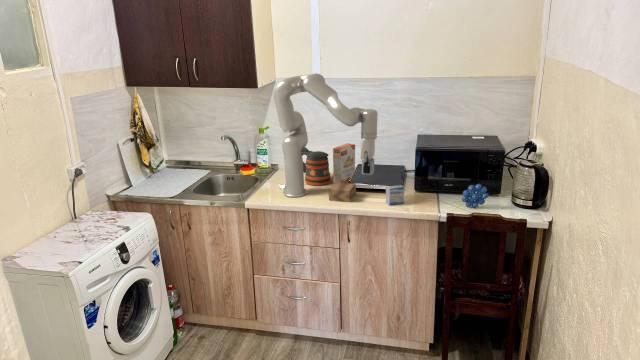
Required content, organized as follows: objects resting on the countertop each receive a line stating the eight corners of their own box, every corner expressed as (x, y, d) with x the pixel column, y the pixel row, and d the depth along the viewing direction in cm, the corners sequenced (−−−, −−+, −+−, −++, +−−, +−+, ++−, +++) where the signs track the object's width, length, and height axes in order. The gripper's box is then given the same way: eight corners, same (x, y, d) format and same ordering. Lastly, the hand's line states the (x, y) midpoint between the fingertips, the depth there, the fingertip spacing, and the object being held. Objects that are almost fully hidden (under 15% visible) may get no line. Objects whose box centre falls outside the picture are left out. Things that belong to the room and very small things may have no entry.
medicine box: (389, 205, 228) (389, 188, 226) (385, 202, 232) (385, 186, 230) (404, 203, 230) (404, 186, 228) (400, 200, 234) (400, 184, 232)
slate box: (361, 174, 231) (362, 160, 229) (364, 171, 235) (364, 157, 233) (371, 175, 229) (372, 161, 227) (374, 172, 234) (374, 158, 231)
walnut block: (329, 200, 238) (328, 189, 236) (335, 193, 248) (335, 182, 246) (350, 202, 234) (349, 191, 232) (355, 194, 244) (355, 183, 242)
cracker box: (342, 186, 257) (341, 149, 251) (333, 184, 261) (332, 148, 254) (356, 179, 268) (355, 143, 261) (347, 178, 271) (346, 142, 265)
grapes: (486, 205, 224) (488, 181, 221) (487, 210, 218) (489, 186, 214) (461, 203, 228) (462, 180, 224) (461, 208, 221) (462, 184, 218)
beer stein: (293, 184, 264) (291, 149, 258) (304, 176, 277) (303, 143, 271) (324, 187, 257) (323, 151, 251) (334, 179, 270) (333, 145, 264)
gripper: (365, 131, 235) (364, 165, 241) (356, 138, 220) (355, 175, 226) (380, 132, 233) (379, 167, 238) (372, 140, 217) (371, 177, 223)
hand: (367, 171), depth 232 cm, fingers closed on slate box, 5 cm apart
